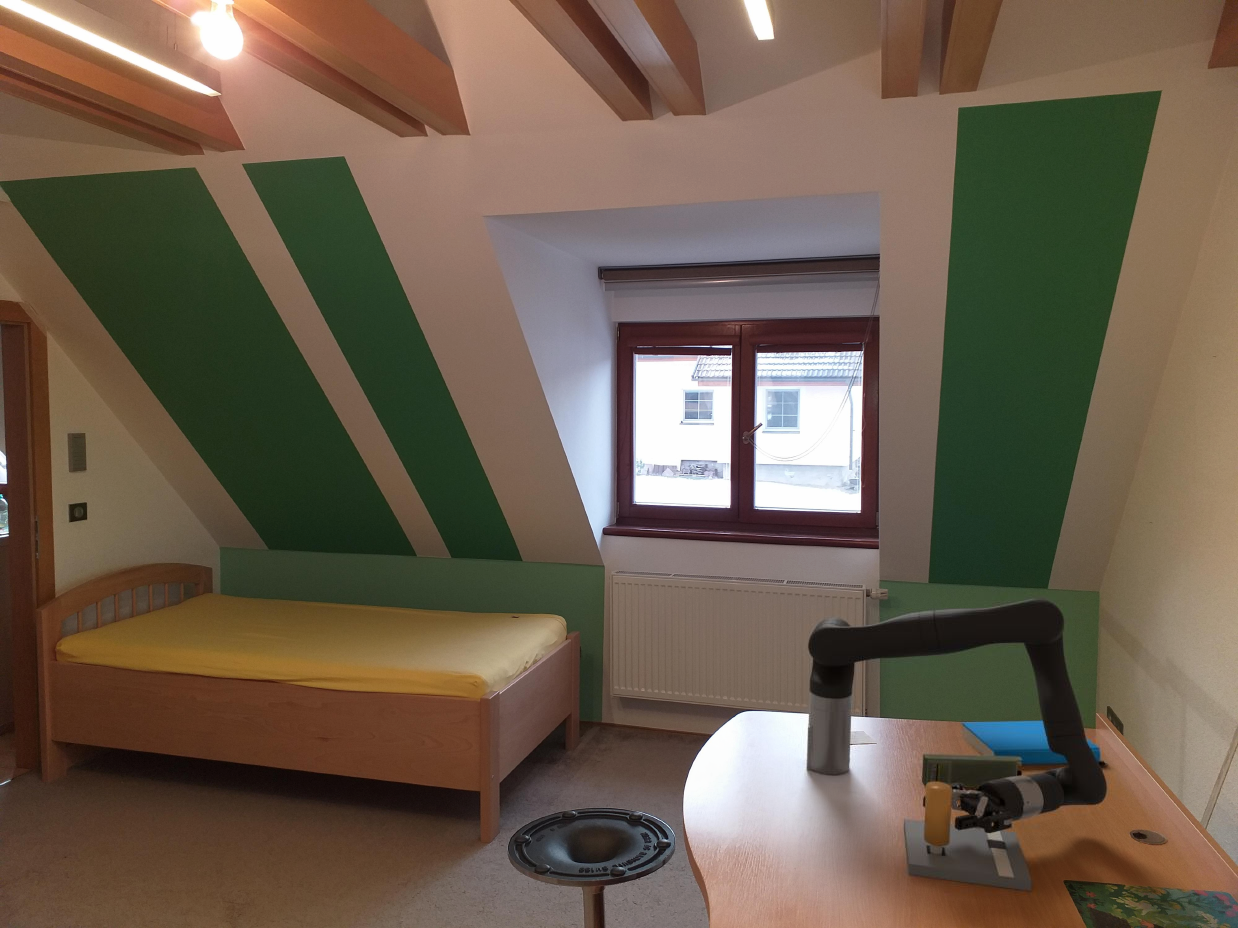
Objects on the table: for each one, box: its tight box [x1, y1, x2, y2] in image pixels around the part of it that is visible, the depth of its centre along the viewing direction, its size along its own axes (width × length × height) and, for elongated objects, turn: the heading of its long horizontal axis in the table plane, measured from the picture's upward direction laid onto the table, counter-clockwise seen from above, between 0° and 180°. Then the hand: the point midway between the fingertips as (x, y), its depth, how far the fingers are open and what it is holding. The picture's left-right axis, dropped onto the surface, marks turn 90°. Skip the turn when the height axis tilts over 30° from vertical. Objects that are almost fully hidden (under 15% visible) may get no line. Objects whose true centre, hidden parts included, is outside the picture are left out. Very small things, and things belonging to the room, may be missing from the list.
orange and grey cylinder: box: [924, 782, 952, 856], centre depth 168 cm, size 4×4×14 cm
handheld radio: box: [921, 753, 1023, 789], centre depth 199 cm, size 7×3×25 cm
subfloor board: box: [903, 818, 1032, 892], centre depth 169 cm, size 20×17×2 cm
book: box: [961, 720, 1101, 765], centre depth 218 cm, size 17×4×25 cm
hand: (939, 812), depth 168 cm, fingers open, 8 cm apart
